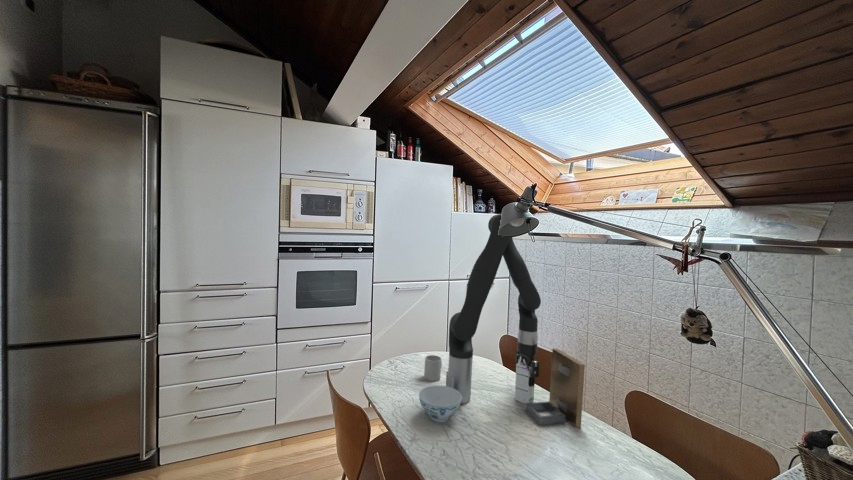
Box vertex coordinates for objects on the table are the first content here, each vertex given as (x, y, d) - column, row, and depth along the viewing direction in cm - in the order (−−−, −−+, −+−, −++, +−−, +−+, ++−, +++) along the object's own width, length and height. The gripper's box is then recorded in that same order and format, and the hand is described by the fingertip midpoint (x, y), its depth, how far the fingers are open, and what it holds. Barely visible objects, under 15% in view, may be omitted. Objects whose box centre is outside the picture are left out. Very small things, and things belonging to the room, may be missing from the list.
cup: (420, 378, 150) (421, 358, 150) (434, 371, 158) (435, 352, 158) (433, 383, 145) (435, 362, 145) (446, 376, 153) (448, 356, 153)
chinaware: (433, 434, 109) (435, 410, 109) (409, 412, 121) (411, 390, 121) (469, 421, 117) (470, 399, 117) (443, 402, 130) (444, 382, 129)
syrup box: (528, 404, 131) (530, 367, 131) (514, 399, 134) (516, 363, 134) (533, 399, 135) (535, 363, 135) (519, 394, 139) (521, 359, 139)
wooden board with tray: (544, 431, 114) (548, 366, 113) (521, 406, 129) (524, 349, 129) (580, 428, 117) (584, 364, 116) (553, 404, 132) (557, 348, 132)
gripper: (510, 335, 141) (508, 374, 141) (528, 347, 127) (526, 390, 127) (527, 335, 142) (525, 373, 143) (546, 346, 128) (544, 388, 129)
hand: (525, 381), depth 135 cm, fingers open, 8 cm apart
